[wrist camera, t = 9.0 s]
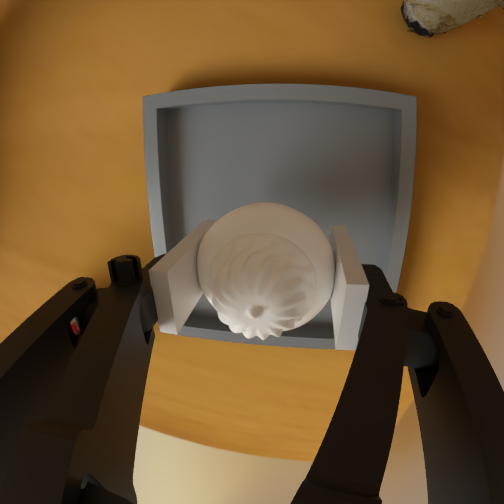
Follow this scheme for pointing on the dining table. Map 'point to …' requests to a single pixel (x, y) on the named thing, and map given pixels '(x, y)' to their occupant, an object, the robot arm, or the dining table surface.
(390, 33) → the dining table surface
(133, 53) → the dining table surface
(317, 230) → the white swirled dome
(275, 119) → the serving tray
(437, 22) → the mushroom
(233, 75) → the dining table surface
